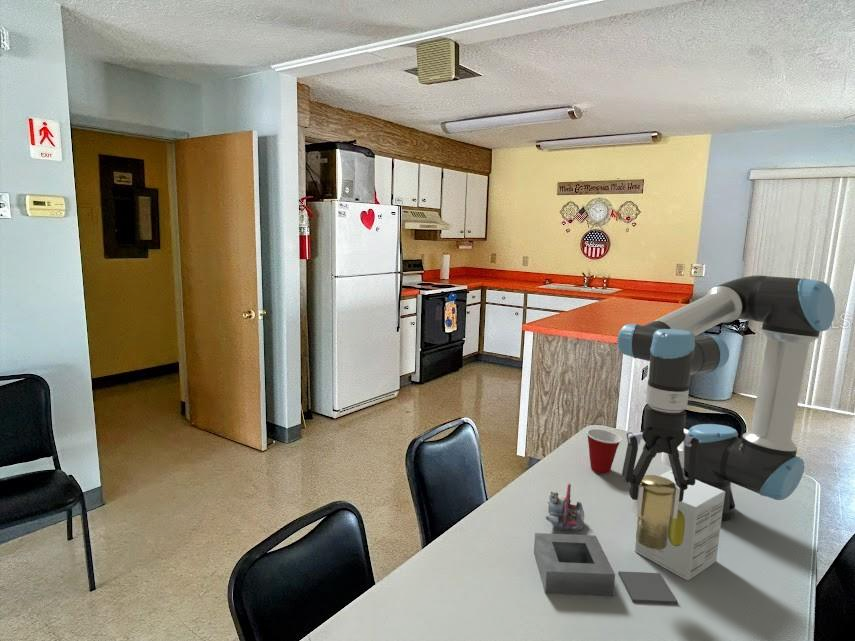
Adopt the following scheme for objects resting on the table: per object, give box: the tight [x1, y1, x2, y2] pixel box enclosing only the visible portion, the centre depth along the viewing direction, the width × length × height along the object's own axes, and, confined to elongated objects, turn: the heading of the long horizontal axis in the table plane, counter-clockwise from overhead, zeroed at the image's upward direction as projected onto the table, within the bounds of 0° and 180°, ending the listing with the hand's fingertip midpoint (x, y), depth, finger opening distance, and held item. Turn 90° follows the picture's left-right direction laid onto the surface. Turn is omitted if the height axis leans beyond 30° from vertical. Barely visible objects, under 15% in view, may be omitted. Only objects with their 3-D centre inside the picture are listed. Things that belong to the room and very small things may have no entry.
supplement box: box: [634, 469, 725, 581], centre depth 121 cm, size 13×13×18 cm
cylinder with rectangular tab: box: [661, 427, 689, 470], centre depth 174 cm, size 9×9×12 cm
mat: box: [618, 570, 679, 605], centre depth 111 cm, size 9×9×1 cm
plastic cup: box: [586, 428, 623, 475], centre depth 166 cm, size 11×11×12 cm
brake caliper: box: [545, 483, 585, 532], centre depth 136 cm, size 11×11×12 cm
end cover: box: [635, 474, 675, 549], centre depth 108 cm, size 7×7×13 cm
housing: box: [533, 532, 616, 597], centre depth 115 cm, size 14×14×5 cm
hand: (654, 514), depth 109 cm, fingers closed on end cover, 7 cm apart
